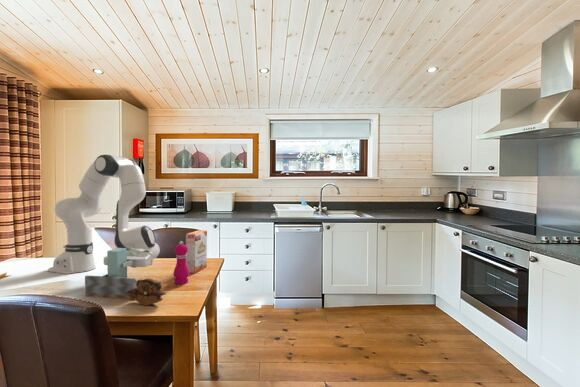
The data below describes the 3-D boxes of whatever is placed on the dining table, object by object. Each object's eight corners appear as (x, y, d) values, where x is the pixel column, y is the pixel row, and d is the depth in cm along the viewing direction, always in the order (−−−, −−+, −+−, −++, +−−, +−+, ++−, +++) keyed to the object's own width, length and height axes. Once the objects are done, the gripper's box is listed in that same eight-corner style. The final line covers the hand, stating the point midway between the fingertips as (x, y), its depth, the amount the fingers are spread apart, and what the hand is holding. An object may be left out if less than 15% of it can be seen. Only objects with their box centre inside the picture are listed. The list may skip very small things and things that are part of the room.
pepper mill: (180, 285, 153) (180, 243, 152) (170, 283, 157) (169, 241, 156) (192, 281, 159) (192, 240, 158) (182, 279, 163) (182, 239, 162)
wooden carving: (123, 304, 129) (123, 279, 129) (131, 300, 134) (131, 276, 133) (162, 308, 127) (162, 282, 126) (168, 303, 131) (168, 279, 131)
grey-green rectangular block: (107, 288, 139) (107, 251, 138) (117, 283, 146) (117, 247, 145) (117, 289, 139) (117, 251, 138) (127, 284, 145) (126, 248, 144)
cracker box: (195, 273, 172) (195, 234, 171) (185, 273, 174) (184, 233, 173) (207, 266, 186) (207, 230, 185) (197, 266, 187) (197, 229, 186)
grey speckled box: (85, 296, 138) (84, 276, 138) (113, 282, 156) (113, 265, 156) (133, 299, 135) (133, 279, 135) (157, 285, 153) (157, 267, 153)
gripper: (115, 249, 156) (93, 256, 142) (155, 251, 153) (137, 258, 139) (115, 263, 156) (94, 271, 142) (155, 265, 153) (137, 273, 140)
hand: (116, 265), depth 141 cm, fingers closed on grey-green rectangular block, 4 cm apart
